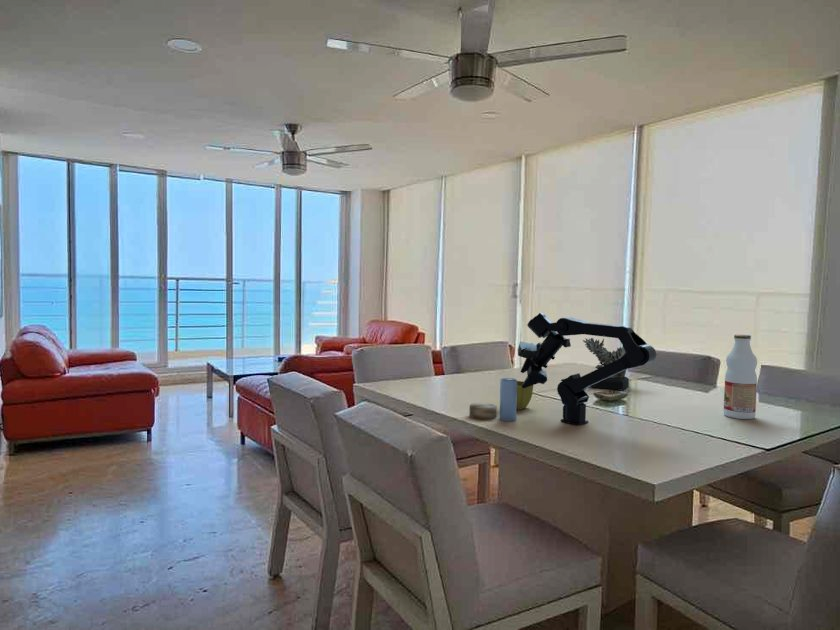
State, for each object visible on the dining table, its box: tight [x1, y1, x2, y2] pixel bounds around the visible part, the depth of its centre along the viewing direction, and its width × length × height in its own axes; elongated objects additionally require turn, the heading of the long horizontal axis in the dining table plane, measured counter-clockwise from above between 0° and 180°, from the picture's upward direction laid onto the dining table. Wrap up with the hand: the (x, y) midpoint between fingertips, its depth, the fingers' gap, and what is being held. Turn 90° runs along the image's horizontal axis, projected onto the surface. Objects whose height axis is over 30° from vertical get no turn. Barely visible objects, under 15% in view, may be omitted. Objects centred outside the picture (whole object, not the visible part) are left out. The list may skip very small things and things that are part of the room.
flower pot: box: [516, 380, 534, 410], centre depth 193 cm, size 9×9×9 cm
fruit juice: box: [723, 334, 758, 420], centre depth 183 cm, size 9×9×28 cm
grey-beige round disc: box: [469, 402, 498, 421], centre depth 180 cm, size 9×9×4 cm
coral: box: [582, 337, 630, 391], centre depth 237 cm, size 25×18×21 cm
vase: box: [499, 377, 518, 422], centre depth 176 cm, size 5×5×13 cm
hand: (522, 379), depth 185 cm, fingers open, 9 cm apart
